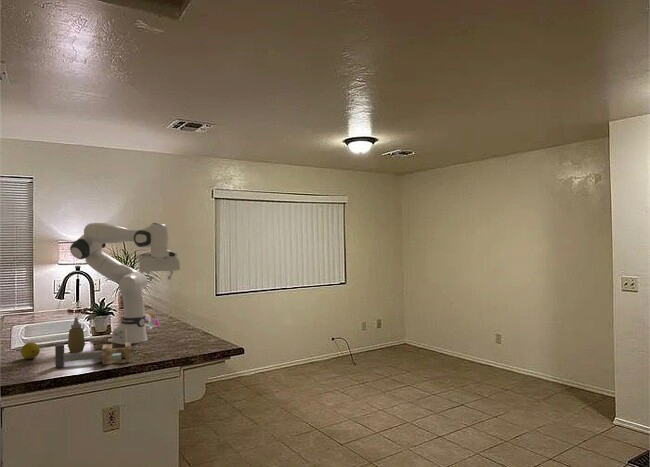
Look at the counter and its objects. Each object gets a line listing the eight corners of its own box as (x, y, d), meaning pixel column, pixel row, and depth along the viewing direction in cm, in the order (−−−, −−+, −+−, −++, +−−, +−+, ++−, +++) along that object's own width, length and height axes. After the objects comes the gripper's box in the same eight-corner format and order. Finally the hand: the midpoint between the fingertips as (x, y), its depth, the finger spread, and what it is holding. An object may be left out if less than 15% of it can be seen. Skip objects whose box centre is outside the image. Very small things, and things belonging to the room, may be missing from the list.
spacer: (111, 363, 224) (111, 355, 224) (112, 360, 228) (112, 353, 228) (121, 362, 225) (120, 354, 225) (121, 359, 230) (121, 352, 230)
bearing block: (102, 364, 220) (102, 348, 220) (103, 360, 229) (103, 344, 229) (131, 361, 225) (130, 346, 225) (131, 357, 233) (130, 342, 233)
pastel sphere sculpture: (122, 325, 319) (122, 312, 319) (159, 323, 327) (159, 309, 327) (120, 332, 295) (120, 318, 295) (160, 329, 303) (159, 315, 303)
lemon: (21, 357, 235) (20, 341, 235) (39, 355, 240) (39, 339, 240) (21, 362, 226) (20, 346, 226) (39, 360, 231) (39, 343, 231)
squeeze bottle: (87, 349, 250) (87, 316, 250) (80, 353, 242) (80, 318, 242) (72, 350, 250) (72, 316, 250) (64, 354, 242) (64, 319, 242)
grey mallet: (55, 368, 215) (55, 346, 215) (57, 365, 219) (56, 344, 219) (109, 362, 223) (109, 341, 223) (110, 359, 228) (109, 339, 228)
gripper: (138, 254, 240) (138, 281, 240) (180, 253, 248) (180, 279, 248) (138, 253, 246) (138, 280, 246) (179, 252, 254) (179, 278, 254)
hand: (160, 279), depth 247 cm, fingers open, 8 cm apart
